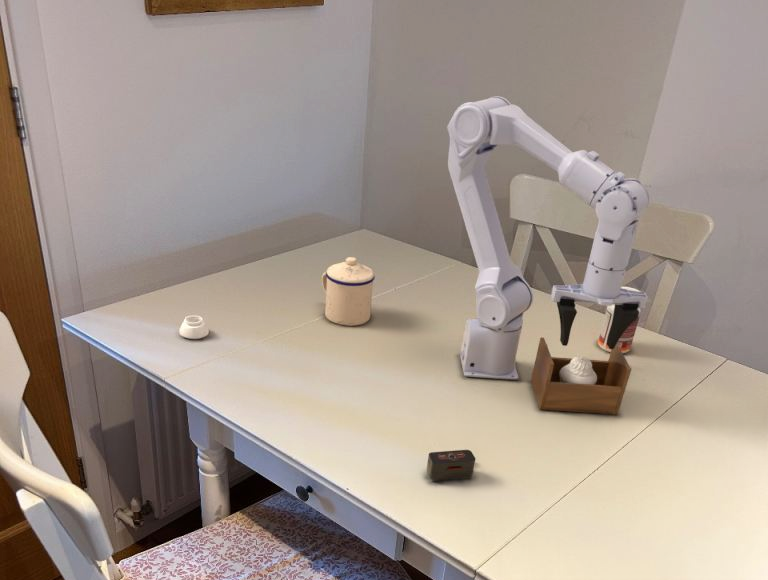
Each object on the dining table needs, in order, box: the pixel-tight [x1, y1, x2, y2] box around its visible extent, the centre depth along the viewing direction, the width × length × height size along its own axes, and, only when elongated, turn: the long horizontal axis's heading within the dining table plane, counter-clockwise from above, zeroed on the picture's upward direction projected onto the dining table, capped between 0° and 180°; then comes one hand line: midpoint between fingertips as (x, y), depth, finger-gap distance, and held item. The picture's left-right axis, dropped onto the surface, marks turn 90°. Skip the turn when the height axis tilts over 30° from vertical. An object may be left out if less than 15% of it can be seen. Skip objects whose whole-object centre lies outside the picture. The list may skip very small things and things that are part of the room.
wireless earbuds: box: [425, 449, 477, 482], centre depth 111 cm, size 5×7×3 cm, turn 105°
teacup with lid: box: [321, 256, 376, 327], centre depth 148 cm, size 12×9×12 cm
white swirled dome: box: [559, 356, 597, 385], centre depth 129 cm, size 6×6×7 cm
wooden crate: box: [530, 337, 632, 415], centre depth 129 cm, size 9×13×8 cm
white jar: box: [179, 315, 210, 340], centre depth 138 cm, size 5×3×5 cm
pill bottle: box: [597, 286, 642, 354], centre depth 147 cm, size 6×6×11 cm
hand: (586, 344), depth 126 cm, fingers open, 7 cm apart
